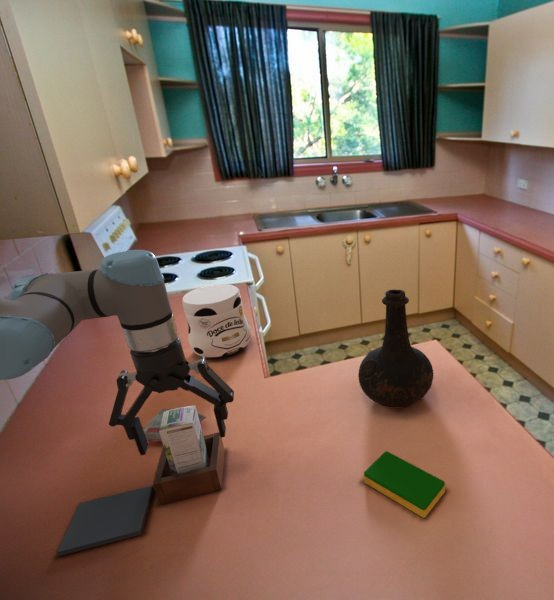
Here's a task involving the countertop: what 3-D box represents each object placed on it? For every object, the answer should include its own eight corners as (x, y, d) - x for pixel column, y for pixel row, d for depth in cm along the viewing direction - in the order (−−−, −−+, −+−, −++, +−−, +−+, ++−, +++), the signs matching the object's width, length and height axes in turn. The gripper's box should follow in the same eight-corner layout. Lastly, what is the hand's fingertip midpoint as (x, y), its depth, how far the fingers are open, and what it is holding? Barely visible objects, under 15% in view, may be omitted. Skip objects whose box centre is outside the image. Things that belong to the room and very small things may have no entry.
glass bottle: (349, 388, 109) (340, 286, 97) (411, 368, 116) (409, 272, 105) (379, 429, 94) (372, 315, 83) (447, 404, 101) (449, 297, 90)
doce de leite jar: (235, 365, 120) (222, 307, 113) (179, 361, 123) (164, 305, 115) (262, 336, 136) (253, 283, 128) (213, 333, 138) (201, 281, 131)
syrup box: (179, 469, 85) (160, 411, 79) (211, 461, 87) (195, 403, 81) (176, 491, 80) (156, 430, 74) (210, 482, 82) (193, 421, 76)
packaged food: (186, 451, 89) (180, 432, 87) (135, 447, 91) (128, 428, 89) (208, 424, 97) (204, 406, 95) (161, 420, 99) (155, 403, 97)
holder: (159, 504, 77) (152, 484, 75) (169, 463, 86) (163, 444, 84) (221, 489, 80) (216, 469, 78) (224, 450, 89) (220, 432, 87)
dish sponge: (424, 519, 73) (424, 509, 72) (363, 482, 81) (362, 472, 80) (445, 491, 78) (445, 481, 77) (386, 459, 86) (386, 450, 85)
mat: (59, 556, 69) (56, 552, 68) (81, 506, 77) (79, 502, 77) (142, 534, 72) (140, 530, 71) (154, 489, 81) (152, 485, 80)
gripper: (234, 320, 78) (254, 414, 86) (77, 345, 71) (115, 443, 80) (232, 339, 71) (254, 438, 80) (59, 368, 65) (103, 473, 73)
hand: (184, 441), depth 80 cm, fingers open, 13 cm apart
